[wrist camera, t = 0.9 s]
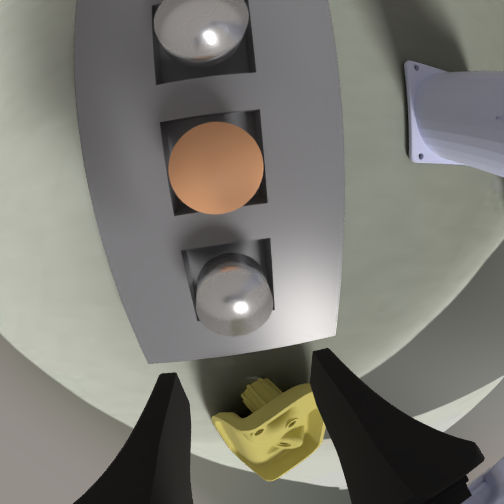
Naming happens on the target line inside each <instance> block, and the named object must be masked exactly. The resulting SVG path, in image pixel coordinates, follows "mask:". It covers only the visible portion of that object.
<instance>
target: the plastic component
mask: <svg viewBox="0 0 504 504" xmlns="http://www.w3.org/2000/svg"><path fill="white" fill-rule="evenodd" d="M246 387H247V389H246V390H245V392H244V393H242V394H241V397H242V398H243V399H244V400H243V402H244V404H245V405H246V406H247V407H248V408H249V409H250V411H251V412H252V414H251V415H249V416H248V417H246V418H241V417H239V416H238V415H237V414H235V413H233V412H220V413H218V414H216V415H214V416H212V418H211V419H212V422H213V424H214V426H215V428H216V429H217V431H218V432H219V434H220V435H221V437H222V438H223V440H224V441H225V443H226V444H227V446H228V447H229V448H230V450H231V451H232V452H233V453H234V454H235V455H236V456H237V457H238V458H239V459H240V460H241V461H242V462H244V463H245V464H246V465H247V466H248V467H249V468H251V469H252V470H253V471H254V472H255V473H257V474H258V475H259V476H261V478H263V479H264V480H266V481H274V480H276V479H278V478H279V477H281V476H282V475H284V474H285V473H287V472H288V471H289V470H291V469H292V468H294V467H295V466H296V465H298V464H299V463H301V462H302V461H303V460H305V459H306V458H307V457H309V456H310V455H311V454H312V453H313V452H314V451H315V450H316V449H317V448H318V447H319V446H320V445H321V443H322V441H323V437H324V432H325V427H326V426H325V424H324V422H323V419H322V417H321V415H320V412H319V410H318V408H317V406H316V402H315V399H314V396H313V392H312V389H311V385H310V383H305V384H300V385H297V386H295V387H292V388H290V389H288V390H287V391H285V392H282V391H281V390H280V389H279V388H277V387H276V386H275V385H274V384H273V383H272V382H271V381H270V380H269V379H268V378H266V379H264V380H263V379H262V378H258V380H257V381H255V382H254V383H252V384H251V385H250V384H248V385H247V386H246Z"/></svg>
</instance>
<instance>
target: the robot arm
mask: <svg viewBox="0 0 504 504" xmlns="http://www.w3.org/2000/svg"><path fill="white" fill-rule="evenodd" d="M414 66H415V67H416V70H415V68H414ZM404 69H405V78H406V88H407V101H408V120H409V158H410V160H411V161H412V162H416V163H441V164H458V165H468V166H471V167H474V168H478V169H481V170H484V171H487V172H490V173H493V174H496V175H498V176H501V177H504V71H464V72H446V71H444V70H441V69H438V68H434V67H431V66H428V65H425V64H421V63H418V62H414V61H406V62H405V63H404ZM419 154H420V158H419ZM310 385H311V389H312V392H313V396H314V399H315V402H316V406H317V408H318V410H319V412H320V415H321V417H322V419H323V422H324V424H325V426H326V428H327V431H328V433H329V435H330V437H331V439H332V442H333V444H334V446H335V448H336V451H337V454H338V456H339V459H340V463H341V466H342V469H343V472H344V476H345V479H346V483H347V487H348V490H349V494H350V498H351V502H352V504H504V457H503V458H501V460H499V461H498V462H497V463H496V464H495V465H493V466H492V467H491V468H489V469H488V470H486V471H485V472H484V473H482V474H481V475H480V476H479V477H477V478H476V479H475V480H473V481H472V482H471V483H469V484H468V485H466V482H468V478H467V476H466V474H468V473H469V472H470V471H472V470H473V469H474V468H475V467H477V466H478V465H479V464H480V463H482V462H483V461H484V459H485V458H484V456H483V454H482V453H481V451H480V449H479V448H478V446H477V445H476V444H475V442H472V441H468V440H464V439H461V438H457V437H454V436H451V435H448V434H446V433H443V432H441V431H438V430H436V429H434V428H432V427H430V426H427V425H425V424H423V423H421V422H419V421H417V420H415V419H414V418H412V417H410V416H408V415H407V414H405V413H403V412H402V411H400V410H399V409H397V408H396V407H394V406H393V405H391V404H390V403H388V402H387V401H386V400H384V399H383V398H382V397H380V396H379V395H378V394H377V393H375V392H374V391H373V390H372V389H371V388H369V387H368V386H367V385H366V384H365V383H364V382H362V381H361V380H360V379H359V378H358V377H357V376H356V375H355V374H354V373H353V372H352V371H351V370H350V369H349V368H348V367H347V366H345V365H344V364H343V362H342V361H341V360H340V359H339V358H338V357H337V356H336V355H335V354H334V353H333V352H332V351H331V350H330V349H329V348H326V349H321V350H317V351H313V354H312V367H311V378H310ZM190 449H191V415H190V404H189V401H188V398H187V396H186V394H185V392H184V389H183V387H182V385H181V383H180V380H179V378H178V376H177V373H163V374H160V375H159V377H158V379H157V382H156V384H155V387H154V389H153V391H152V393H151V396H150V398H149V400H148V402H147V404H146V406H145V408H144V410H143V412H142V414H141V416H140V418H139V420H138V422H137V424H136V426H135V427H134V429H133V431H132V433H131V434H130V436H129V438H128V440H127V441H126V443H125V445H124V446H123V448H122V449H121V451H120V452H119V453H118V455H117V456H116V458H115V459H114V461H113V462H112V463H111V464H110V466H109V467H108V468H107V470H106V471H105V472H104V473H103V474H102V476H101V477H100V478H99V479H98V480H97V481H96V482H95V483H94V484H93V485H92V486H91V487H90V489H88V491H87V492H86V493H85V494H84V495H82V496H81V497H80V498H79V499H78V500H77V501H75V502H74V503H73V504H193V499H192V491H191V483H190Z"/></svg>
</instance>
